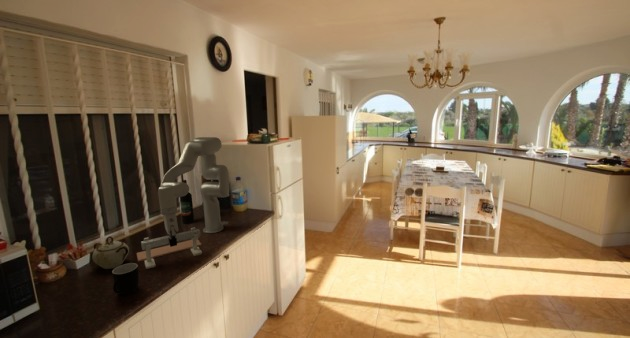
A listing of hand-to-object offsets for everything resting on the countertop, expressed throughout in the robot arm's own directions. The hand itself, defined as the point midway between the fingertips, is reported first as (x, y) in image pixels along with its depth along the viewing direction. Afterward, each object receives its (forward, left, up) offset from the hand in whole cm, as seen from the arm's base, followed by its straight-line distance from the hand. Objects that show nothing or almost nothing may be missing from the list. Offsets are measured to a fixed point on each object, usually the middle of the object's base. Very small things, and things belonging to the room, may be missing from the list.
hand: (172, 243), depth 149 cm
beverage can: (-33, -57, -8) cm, 66 cm away
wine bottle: (-18, -52, -8) cm, 56 cm away
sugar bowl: (+26, -11, -8) cm, 29 cm away
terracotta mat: (0, -12, -8) cm, 14 cm away
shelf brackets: (0, 0, -8) cm, 8 cm away
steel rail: (0, 0, +1) cm, 1 cm away
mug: (+22, +21, -8) cm, 32 cm away
